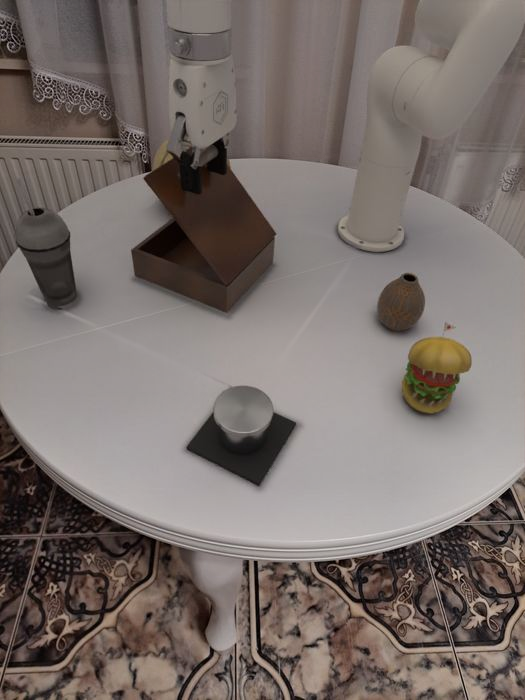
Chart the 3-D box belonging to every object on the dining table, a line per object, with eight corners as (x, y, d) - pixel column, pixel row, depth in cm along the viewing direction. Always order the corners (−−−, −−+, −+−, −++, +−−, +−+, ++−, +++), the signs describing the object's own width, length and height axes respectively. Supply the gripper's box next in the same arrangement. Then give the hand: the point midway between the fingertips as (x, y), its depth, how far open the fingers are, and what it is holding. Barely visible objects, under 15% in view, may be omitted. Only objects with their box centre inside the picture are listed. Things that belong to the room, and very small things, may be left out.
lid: (142, 178, 69) (160, 160, 66) (204, 138, 79) (223, 121, 76) (225, 285, 75) (246, 274, 71) (273, 235, 85) (294, 223, 81)
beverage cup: (73, 319, 76) (38, 198, 62) (28, 311, 77) (-17, 189, 63) (94, 290, 81) (66, 171, 67) (51, 282, 82) (15, 163, 68)
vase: (419, 314, 82) (436, 269, 76) (414, 342, 77) (431, 297, 71) (377, 303, 83) (389, 258, 77) (369, 330, 78) (382, 285, 72)
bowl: (232, 403, 66) (232, 377, 62) (280, 425, 64) (283, 399, 60) (203, 442, 62) (201, 416, 58) (253, 468, 60) (255, 442, 56)
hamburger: (399, 417, 67) (425, 354, 58) (389, 376, 72) (412, 312, 63) (457, 419, 67) (491, 356, 59) (443, 378, 72) (473, 315, 64)
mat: (228, 394, 68) (228, 391, 68) (296, 425, 65) (296, 422, 65) (186, 449, 62) (186, 446, 61) (259, 486, 59) (259, 483, 58)
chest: (135, 279, 84) (130, 249, 80) (188, 235, 94) (186, 207, 90) (226, 316, 79) (227, 287, 75) (272, 265, 89) (275, 237, 85)
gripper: (186, 67, 55) (193, 215, 68) (260, 33, 66) (254, 165, 79) (130, 54, 57) (147, 199, 70) (211, 22, 68) (213, 153, 81)
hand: (204, 180), depth 74 cm, fingers closed on lid, 6 cm apart
